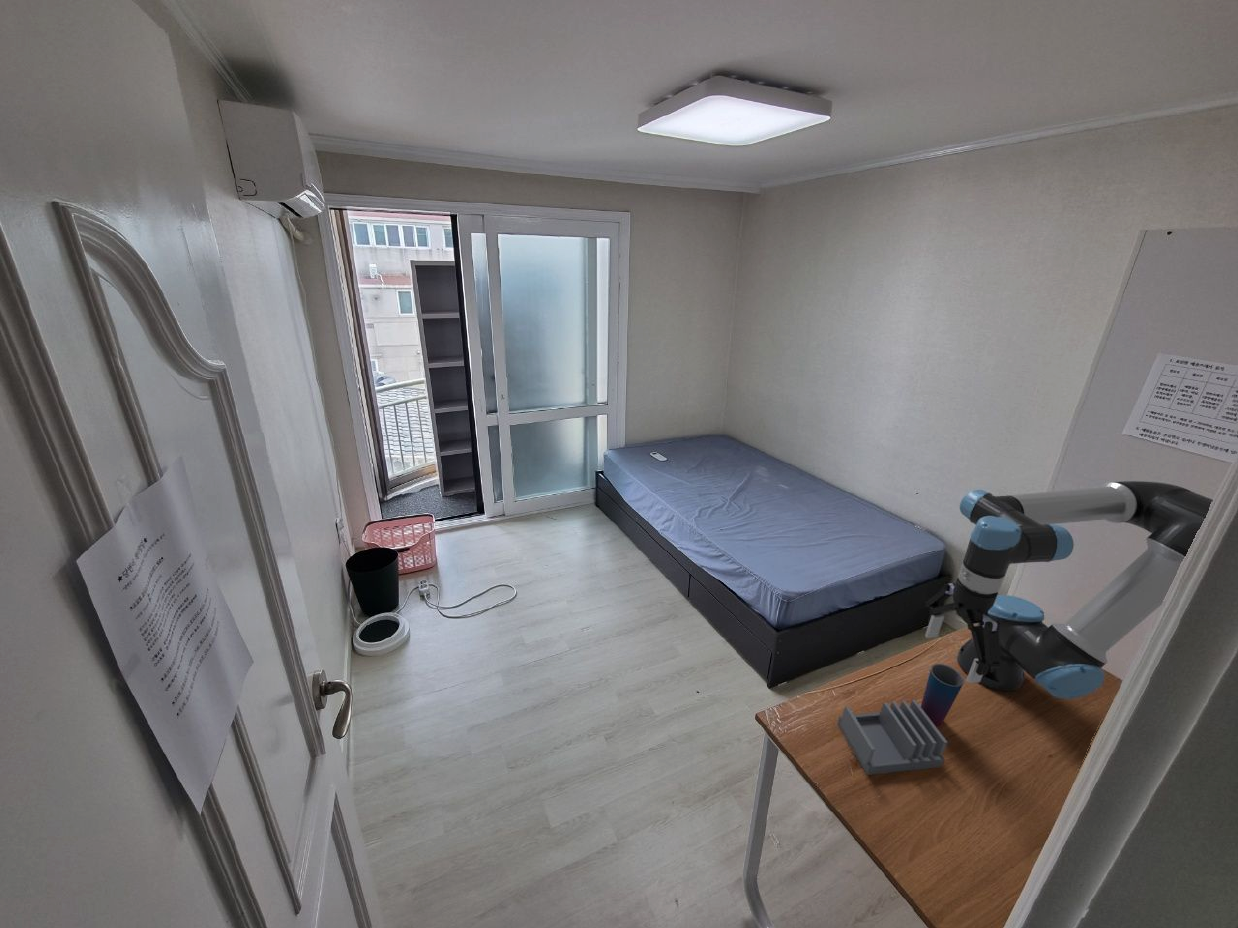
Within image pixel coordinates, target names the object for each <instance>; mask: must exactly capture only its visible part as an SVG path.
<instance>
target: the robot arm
mask: <svg viewBox="0 0 1238 928" xmlns="http://www.w3.org/2000/svg"><path fill="white" fill-rule="evenodd" d="M1213 500H1214V499H1212V498H1210V497H1206V496H1204V495H1202V494H1199V493H1196V492H1195V491H1191V490H1189V489H1187V488H1185V487H1182V486H1178V485H1175V484H1172V483H1171V484H1170V483H1167V482H1156V481H1141V480H1140V481H1137V480H1135V481H1134V480H1133V481H1132V480H1127V481H1126V480H1125V481H1113V482H1112V481H1110V482H1109V481H1108V482H1105V483H1102V484H1100V485H1098V487H1092V488H1089V487H1087V488H1079V489H1068V490H1065V489H1064V490H1057V491H1055V490H1054V491H1045V492H1032V493H1021V494H1020V493H1019V494H1011V495H1009V494H1008V495H997V496H996V495H994V494H992V493H991V492H988V491H986V490H984V489H974V490H971V491H969V492H968V493H965V495H964V496H963V498H961V500H960V503H959V511H960V513H961V514H962V515H963V517H965V518H967V519H968V520H969V522H970V523H972V524H974V525H975V526H974V528H973V531H972V532H971V533H970V537H969V538H970V539H969V542H968V546H967V549H966V551H965V554H964V558H963V559H962V560H963V561H962V564H961V566H960V570H959V572H958V577H957V578H956V580H955V582H953V583H944V584H943V585H942V587H941V589H940V590H939V591H938V592H937V593H935V594H934V595H933V596H932V597H931V598H929V599H928V600H926V601H925V603H924V604H925V606H926V607H927V608H929V613H930V614H929V617H928V619H927V623H928V625H927V628H926V631H925V638H926V639H933V638H938V637H939V633H940V630H941V628H942V624H943V621H944V619H945V615H944V614H945V613H948V612H949V613H950V612H952V611H955V612H956V613H955V614H956V615H957V616H958V617H959V618H961V619H962V620H963V621H964V623H965V624H967V629H968V630H970V631H971V636H972V637H971V638H970V639H968V640H967V641H966V642H965V643H964V644H963V645H962V646H961V647H960V648H959V650H958V652H957V655H956V659H957V663H958V665H959V667H960V669H962V671H963V672H964V673H965V674H966V675H967V677H966V679H965V681H966V682H967V683H968V684H975V683H976V684H977V683H979V684H981V685H983V686H985V687H988V688H990V689H994V690H995V691H996V690H997V691H1001V692H1013V691H1017V690H1019V689H1020V688H1021V687H1022V686H1023V683H1024V680H1025V679H1026V678H1025V677H1026V676H1025V675H1026V674H1025V673H1027V674H1028V675H1029V676H1030V677H1031V678H1032V679H1033V680H1034V682H1035V683H1036V684H1037V685H1039V686H1041V687H1042V688H1043V689H1044V690H1045V691H1046V692H1048V693H1049V694H1050V695H1051V696H1053V697H1055V698H1059V699H1066V700H1070V699H1077V698H1081V697H1084V696H1086V695H1087V696H1088V695H1089V694H1091V693H1094V692H1095V691H1096V690H1098V689H1099V688H1101V687H1102V686H1103V684H1104V682H1105V680H1106V674H1105V673H1104V670H1103V669H1102V668H1103V667H1104V666H1105V665H1107V663H1108V659H1107V652H1108V651H1109V650H1111V648H1113V647H1114V646H1115V645H1116V644H1117V643H1118V642H1120V641H1121V640H1122V639H1124V637H1126V635H1128V634H1129V633H1130V632H1132V631H1133V630H1134V629H1135V628H1136V627H1137V626H1139V625H1140V624H1141V623H1142V622H1143V621H1144V620H1146V619H1147V618H1148V617H1149V616H1150V615H1152V613H1154V612H1155V611H1157V609H1159V608H1160V607H1161V606H1162V605H1163V604H1164V603H1163V600H1164V598H1165V596H1166V594H1167V592H1168V590H1169V588H1170V586H1171V584H1172V582H1173V580H1174V578H1175V576H1176V574H1177V571H1178V569H1179V567H1180V564H1181V562H1182V561H1183V559H1184V557H1185V556H1186V554H1187V552H1188V549H1189V548H1190V546H1191V544H1192V542H1193V539H1194V538H1195V535H1196V533H1197V531H1198V530H1199V529H1200V527H1201V525H1202V523H1203V521H1204V519H1205V518H1206V515H1207V513H1208V511H1209V507H1210V504H1211V502H1212V501H1213ZM1102 520H1104V521H1108V522H1109V523H1115V524H1116V523H1117V524H1119V523H1120V524H1121V523H1126V524H1131V525H1134V526H1137V527H1139V528H1141V529H1143V530H1145V531H1147V532H1149V533H1151V534H1149V535H1148V536H1147V537H1146V539H1145V540H1146V544H1147V549H1146V550H1145V551H1144V552H1142V554H1141V555H1139V556H1138V557H1137V558H1136V559H1135V560H1133V562H1131V563H1130V564H1129V565H1128V566H1127V567H1126V568H1125V569H1123V571H1122V572H1120V573H1119V574H1118V575H1117V576H1116V577H1115V578H1114V579H1113V580H1112V581H1110V582H1109V583H1108V584H1107V585H1106V586H1105V587H1104V588H1103V589H1101V590H1100V591H1099V592H1098V593H1097V594H1096V595H1095V596H1093V598H1091V599H1090V600H1089V601H1088V602H1087V603H1086V604H1085V605H1084V606H1083V607H1082V608H1081V609H1079V610H1078V611H1077V612H1076V613H1075V614H1073V616H1071V617H1070V618H1069V619H1068V620H1067V621H1066V622H1065V623H1063V622H1062V623H1059V622H1058V623H1051V625H1050V626H1047V625H1046V624H1045V623H1044V622H1043V621H1044V620H1045V612H1044V610H1042V608H1041V607H1040V606H1039V605H1037V604H1035V603H1033V602H1032V601H1029V600H1027V599H1024V598H1021V597H1017V596H1013V595H1008V594H1007V595H1005V594H999V591H1000V590H1001V587H1002V585H1003V582H1004V579H1005V576H1006V574H1007V571H1008V570H1009V566H1010V565H1011V564H1012V565H1014V564H1025V563H1028V564H1029V563H1042V562H1043V563H1051V562H1053V561H1061V560H1064V559H1067V558H1068V557H1070V556H1071V554H1073V553H1072V552H1073V551H1074V546H1075V545H1074V543H1075V542H1074V538H1073V536H1072V534H1071V533H1070V532H1069V530H1067V529H1066V528H1065V527H1063V526H1062V525H1059V524H1067V523H1069V524H1070V523H1077V522H1090V521H1091V522H1092V521H1102ZM950 597H952V598H953V600H952V601H953V602H950V603H947V604H945V605H941V604H942V603H943V602H946V600H948V598H950ZM1162 603H1163V604H1162ZM975 624H977V625H975Z"/></svg>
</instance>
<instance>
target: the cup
mask: <svg viewBox="0 0 1238 928" xmlns="http://www.w3.org/2000/svg"><path fill="white" fill-rule="evenodd" d="M964 684H965V680H964V677H963V675H962V674H961V672H959V671H958V670H957V669H956V668H953V666H949V664H948V665H947V664H943V663H935V664H933V665H932V666H930V671H929V674H928V679H927V682H926V685H925V690H924V693H923V697H922V700H921V704H920V707H921V708H922V709H923V711H924V712H925V713H926V715H927V716H928V717H929V719H930V720H931V721H932V722H933V724H934V725H935V726H936V728H940V727H941V726H942V724H943V723H944V720H946V717H947V715H948V713H949V711H950V710H951V708H952V705H953V704H954V702H955V701H956V699H957V696H958V695H959V693H960V691H961V689H962V687H963V685H964Z"/></svg>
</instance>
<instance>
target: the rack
mask: <svg viewBox="0 0 1238 928" xmlns="http://www.w3.org/2000/svg"><path fill="white" fill-rule="evenodd" d="M837 720H838V721H837V725H838V728H839V729H840V731H841V732H842V734H843V736H844V737H845V740H846V741H847V743H848V744H849V746H850V748H851V750H852V751H853V753H854V755H855V757H856V759H857V760H858V762H859V764H860V766H861V768H862V769H863V771H864V773H865V775H868V776H869V775H879V774H889V773H896V772H907V771H915V770H926V769H936V768H942V767H943V764H944V761H945V758H944V756H943V753H944V752H945V749H946V747H947V744H948V741H947V740H946V738H945V737H944V736H943V734H942V733H941V731H940V730H939V729H938V727H936V726H935V725H934V724H933V722H932V721H931V720H930V719H929V717H928V716H927V715H926V713H925V712H924V711H923V709H922V708H921V705H920V704H919V703H918V702H917V700H916V699H912V700H911V702H910V704H908V702H907V700H901V702H900V706H899V705H898V704H897V702H896V701H892V702H891V703H890V705H889V704H888V702H886V701H885V702H883V703H882V706H881V709H880V712H879V711H878V712H876V711H875V712H868V713H867V712H866V713H858V714H857V713H856V714H854V712H853V711H852V709H851V708H850V706H849V705H845V706H844V709H843V713H842V715H839V716H838V719H837Z"/></svg>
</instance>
